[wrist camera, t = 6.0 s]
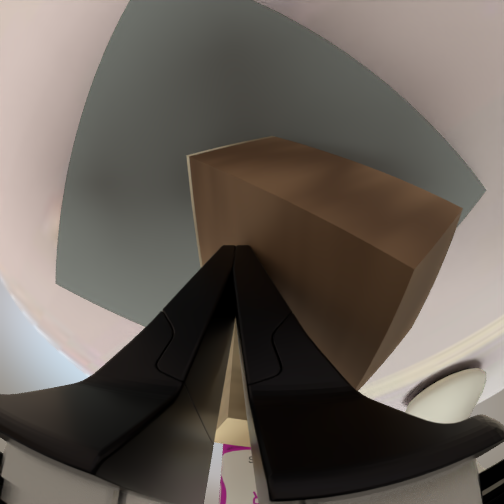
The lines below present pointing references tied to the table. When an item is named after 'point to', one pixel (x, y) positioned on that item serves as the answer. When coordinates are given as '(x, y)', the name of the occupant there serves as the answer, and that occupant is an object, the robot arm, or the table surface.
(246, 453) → the supplement can
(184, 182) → the slate mat
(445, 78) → the table surface
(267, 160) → the walnut block
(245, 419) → the oak block
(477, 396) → the flower in vase
